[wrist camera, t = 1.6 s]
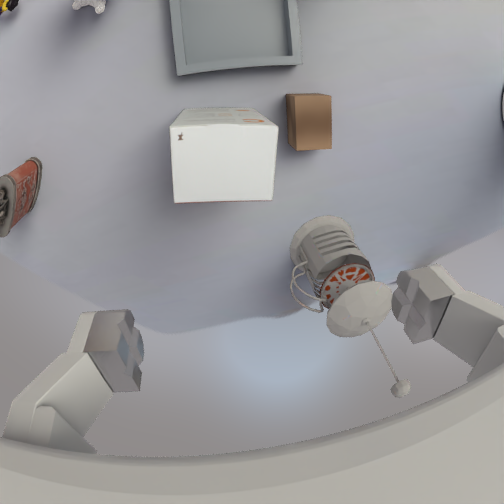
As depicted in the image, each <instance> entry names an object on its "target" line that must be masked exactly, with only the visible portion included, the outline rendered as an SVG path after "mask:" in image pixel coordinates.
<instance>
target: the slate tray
mask: <svg viewBox="0 0 504 504" xmlns="http://www.w3.org/2000/svg"><path fill="white" fill-rule="evenodd" d="M169 2H170V13H171V24H172V33H173V43H174V52H175V61H176V69H177V76H183V75H189V74H195V73H202V72H209V71H217V70H226V69H236V68H247V67H261V66H283V65H303V62H302V48H301V36H300V25H299V15H298V5H297V0H169Z"/></svg>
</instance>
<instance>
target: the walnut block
mask: <svg viewBox="0 0 504 504" xmlns="http://www.w3.org/2000/svg"><path fill="white" fill-rule="evenodd" d="M286 107H287V127H288V143H289V144H290V145H291V146H292V147H293V148H294V149H295V150H296V151H301V150H318V149H332V115H331V96H329V95H324V94H286Z"/></svg>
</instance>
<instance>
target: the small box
mask: <svg viewBox="0 0 504 504" xmlns="http://www.w3.org/2000/svg"><path fill="white" fill-rule="evenodd" d="M278 129H279V127H278V126H277V125H275V124H274V123H272V122H271V121H270V120H268V119H267V118H266V117H264V116H263V115H262V114H260V113H259V112H257V111H256V110H255V109H253V108H193V109H183V111H182V112H181V113H180V114H179V116H178V117H177V118H176V119H175V121H174V122H173V123H172V124H171V126H170V127H169V133H170V149H171V165H172V180H173V193H174V203H200V202H235V201H272V199H273V188H274V177H275V165H276V153H277V141H278Z"/></svg>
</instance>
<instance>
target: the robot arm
mask: <svg viewBox="0 0 504 504" xmlns="http://www.w3.org/2000/svg"><path fill="white" fill-rule="evenodd" d="M503 119H504V94H503ZM396 283H397V285H398V288H397V289H396V290H395V291H394V293H393V296H392V300H391V304H392V311H393V313H394V316H395V317H396V319H397V320H398V321H400V322H401V323H403V324H404V331H405V333H406V334H407V335H408V337H409V339H410V340H411V342H412V343H413V344H416V343H419V342H422V341H426V340H429V339H432V338H434V339H433V340H435V341H436V342H438V343H439V344H440V345H442V346H443V347H445V348H446V349H448V350H449V351H451V352H452V353H454V354H455V355H456V356H458V357H459V358H461V359H462V360H464V361H465V362H466V363H468V364H469V365H471V366H472V367H474V368H473V369H472V371H471V372H470V373H469V375H468V377H467V381H468V383H466V384H464V385H462V386H460V387H458V388H456V389H454V390H452V391H450V392H448V393H446V394H444V395H441V396H439V397H437V398H434V399H432V400H430V401H428V402H425V403H423V404H420V405H418V406H415V407H413V408H411V409H408V410H405V411H403V412H400V413H397V414H395V415H392V416H390V417H386V418H383V419H381V420H378V421H375V422H372V423H369V424H365V425H362V426H359V427H355V428H352V429H349V430H345V431H342V432H338V433H334V434H330V435H326V436H323V437H318V438H314V439H310V440H305V441H301V442H296V443H291V444H286V445H281V446H275V447H269V448H263V449H256V450H249V451H242V452H233V453H224V454H213V455H199V456H179V457H133V456H114V455H100V454H97V450H96V449H95V448H94V447H93V446H92V445H91V444H90V443H89V442H88V441H86V440H85V439H84V438H83V437H84V436H85V434H86V433H87V431H88V430H89V428H90V427H91V425H92V424H93V423H94V421H95V420H96V418H97V417H98V415H99V414H100V412H101V411H102V410H103V408H104V407H105V405H106V404H107V403H108V401H109V400H110V398H111V397H112V395H113V392H132V391H140V384H141V375H142V372H141V370H140V368H139V367H138V366H139V365H140V364H141V362H142V361H143V356H144V350H143V349H144V348H143V341H142V337H141V334H140V332H139V330H138V329H136V328H135V327H134V320H135V319H134V317H133V314H132V312H131V311H130V310H128V309H124V310H108V311H97V312H96V311H95V312H83V313H82V314H81V315H80V316H79V319H78V322H77V324H76V327H75V330H74V333H73V336H72V338H71V342H70V344H69V347H68V350H67V353H62V354H61V355H60V356H59V357H57V358H56V359H55V360H54V361H53V362H52V363H51V364H50V365H49V366H48V367H47V368H46V369H45V370H44V371H43V372H42V373H41V374H39V375H38V376H37V377H36V378H35V379H34V380H33V381H32V382H31V383H30V384H29V385H28V386H27V387H26V388H25V389H24V390H23V391H22V392H21V393H20V394H19V395H18V396H17V397H16V398H15V399H14V400H13V402H12V405H11V408H10V411H9V415H8V418H7V422H6V425H5V429H4V432H3V436H2V437H0V504H504V307H503V306H501V305H499V304H497V303H495V302H493V301H490V300H488V299H486V298H484V297H482V296H480V295H477V294H475V293H473V292H471V291H465V290H464V289H463V288H462V287H461V286H460V285H459V283H458V282H457V281H456V280H455V279H454V278H453V277H452V276H451V275H450V274H449V273H448V272H447V271H446V270H445V269H444V268H443V267H442V266H441V265H439V264H433V265H428V266H425V267H420V268H416V269H411V270H406V271H401V272H400V273H399V275H398V277H397V281H396Z"/></svg>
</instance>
